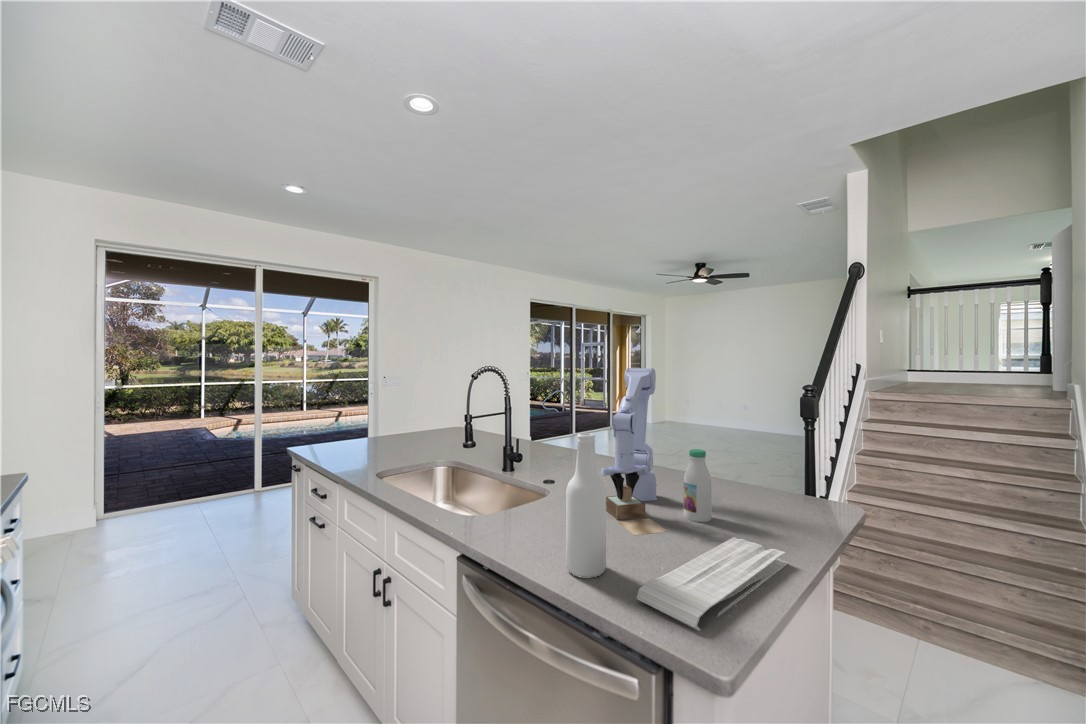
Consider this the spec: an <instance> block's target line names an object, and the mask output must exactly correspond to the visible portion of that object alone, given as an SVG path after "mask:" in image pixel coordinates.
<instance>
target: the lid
mask: <svg viewBox="0 0 1086 724" xmlns="http://www.w3.org/2000/svg"><path fill="white" fill-rule="evenodd" d="M615 496H616V497H608V499H610V500H611V501H613V502H614V503H615V504H617V505H628V504H638V503H642V502H643V501H642V502H640V501H638V500H637V499H635V498H634V497H632V488H630V487H628V486H627V485H626V483H625V484H624V483H623V498H622V499H619V498H618V497H617V495H615Z"/></svg>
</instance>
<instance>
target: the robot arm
mask: <svg viewBox="0 0 1086 724" xmlns="http://www.w3.org/2000/svg"><path fill="white" fill-rule="evenodd" d="M656 373H657V372H656V370H655V369H654V368H653V367H651V368H650V367H649V368H643V367H642V368H641V367H640V368H639V367H637V368H636V367H631V368H630V367H627V368H626V369H625V370H624V376H623V377H624V382H625V383H624V384H625V386H626V395H625V396H623V397H622V398H621V400H620V404H619V408H618V411H617V413H616V414H613V415H612V423H611V424H612V425H611V426H612V431H613V438H614V465H613V466H608V467H601V468H600V475H601V476H602V477H607V476H609V477H610V479H611V480H612V482H613V485H614V489H615V492H616V496H617V497H618V498H619V499H622V498H623V485H624V481H625V485H627V486H628V487H630V488H632V495H633V496H635V497H636V498H638V499H639V500H641V501H642V502H645V501H646V502H648V501H658V498H657V478H656V474H655V473H654V471H653V468H654V451H653V448H652V447H651V446H649V445H648V443H646V437H647V436H646V435H647V424H648V423H647V422H648V420H647V419H648V410H649V409H648V406H649V399H650V396H651V395H653V394H655V390H656V381H657V375H656ZM623 475H624V476H623ZM624 477H625V478H624Z"/></svg>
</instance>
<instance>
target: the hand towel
mask: <svg viewBox="0 0 1086 724" xmlns="http://www.w3.org/2000/svg"><path fill="white" fill-rule="evenodd" d="M786 554H787V551H782V550H780V549H777V548H769V549H765V548H764V546H763V545H762V544H759V543H757V542H752V541H748V540H746V539H744V538H737V537H735V536H734V537H731V538H729V539H727V540H726V541H724V542H722V543H721V544H718V545H716V546H715V547H713V548H711V549H709V550H708V551H706V552H703V553H702V554H700V555H698V556H696V557H695V558H693V559H691V560H689V561H687V562H686V563H684V564H682V565H680V566H678V567H677V568H675V569H673V570H671V571H669V572H668V573H665V574H664V575H662V576H658V577H656V578H652V579H650V580H648V581H647V582H646V583H645V584H643V585H642V586H641V587H640V588H639V589H638V591H637V595H636V600H638V601H640V603H643V604H645V605H647V606H649V607H650V606H651V607H650V608H652V607H653V609H654V608H655V610H656V611H658V610H659V612H660V613H663V614H664V615H666V616H669V617H670V618H673V619H674V620H676V621H678V622H680V623H681V624H684V625H685V624H686V625H685V626H687V625H688V627H690V628H692V629H693V630H695V631H698V632H700V631H702V629H701V628H700V627H699V626H698V624H699V622H700V618H701V617H702V616H703V615H704V614H705V613H706V612H707V611H708V610H710V608H712V607H714V606H715V605H716V604H718V603H720V602H722V601H725V600H727V599H730V598H732V597H733V596H735V595H737V594H738V593H737V592H739V593H740V592H742V591H743V590H745V589H746V588H745V587H747V585H749V584H751V583H753V582H754V581H755V580H758V582H757V583H756V585H755V584H754V583H755V582H754V583H753V584H754V585H755V586H754V585H752V584H751V585H752V588H751V587H750V588H749V589H747V590H748V591H747V590H746V591H747V592H746V591H745V592H744V594H743V593H742V594H740V596H738V597H737V598H735V599H734V600H732V601H731V602H730V603H729V604H728V605H726V606H725V607H723V608H722V609H721V610H720V611H719V612H718V614H717V616H716V618H718V617H720V616H721V615H722V614H724V612H726V611H728V609H730V608H732V607H733V606H734V605H735V604H737V603H738V602H740V601H741V600H742V599H744V598H745V597H747V596H748V595H749V594H750V592H751V593H752V592H753V591H755V590H756V589H757V588H758V587H759V586H761V585H762V584H763V583H764V582H766V581H767V580H768V579H770V578H772V576H774V575H776V573H778V572H779V571H780V570H782V569H783V568H785V567H786V566H787V565H788V564H789V562H787V561H784V560H783V559H780V558H781V557H782V556H784V555H786ZM759 579H760V580H761V581H760V580H759ZM759 581H760V582H759ZM744 588H745V589H744ZM747 588H748V587H747ZM754 589H755V590H754ZM747 594H748V595H747ZM699 630H700V631H699Z"/></svg>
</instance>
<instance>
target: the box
mask: <svg viewBox="0 0 1086 724" xmlns="http://www.w3.org/2000/svg"><path fill="white" fill-rule="evenodd" d="M616 496H617V495H609V496H607V495H606V513H608V514H609V515H610V516H612V518H614V519H615V520H616V521H620V520H622V521H623V520H629V519H632V520H633V519H642V518H646V502H645V501H641V500H639V499H638V498H636V497H635V496H633V495H632V497H634V498H635V499H637V500H638V501H640V502H642V503H638V504H628V505H617V504H615V503H614V502H613V501H611V500H610V499H608V497H616Z"/></svg>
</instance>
